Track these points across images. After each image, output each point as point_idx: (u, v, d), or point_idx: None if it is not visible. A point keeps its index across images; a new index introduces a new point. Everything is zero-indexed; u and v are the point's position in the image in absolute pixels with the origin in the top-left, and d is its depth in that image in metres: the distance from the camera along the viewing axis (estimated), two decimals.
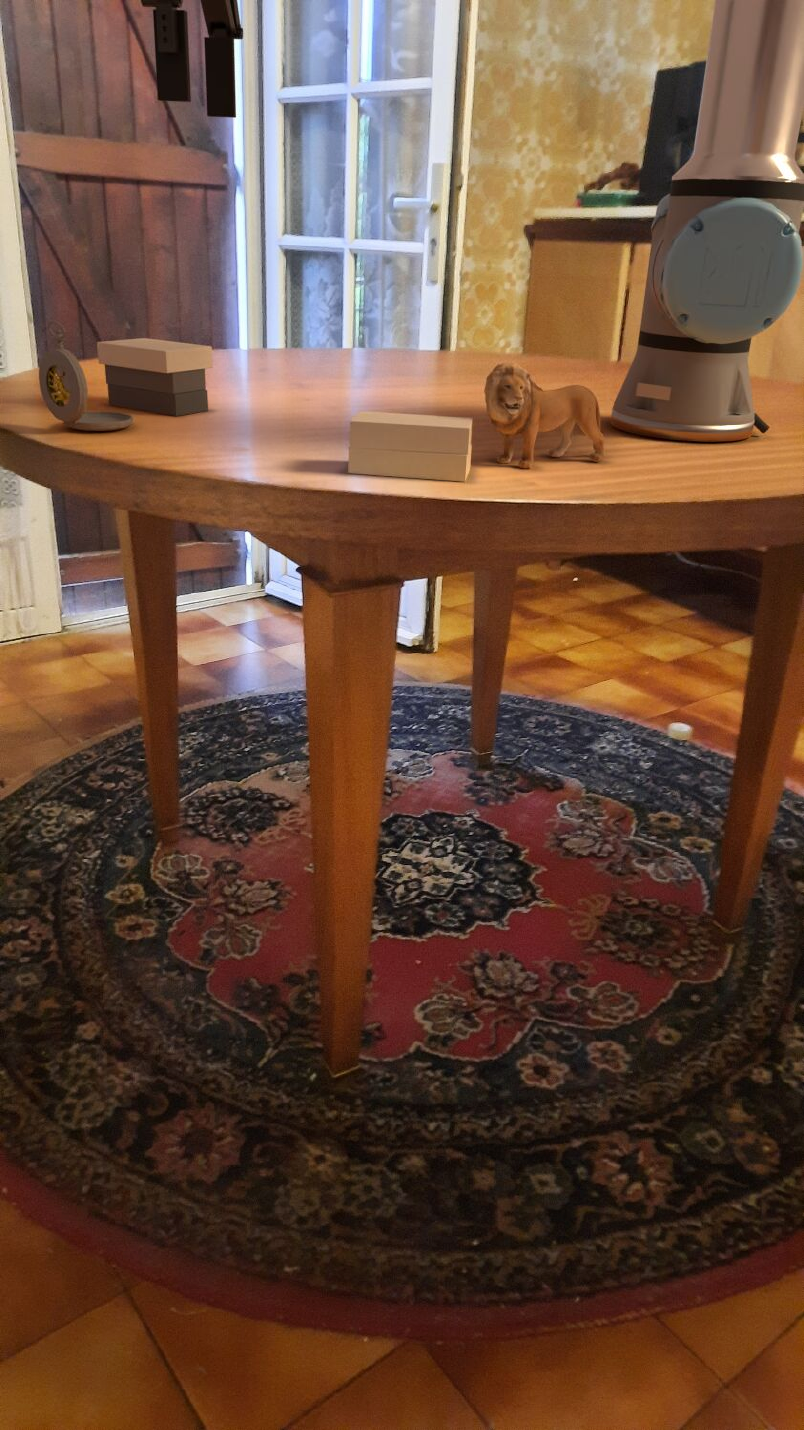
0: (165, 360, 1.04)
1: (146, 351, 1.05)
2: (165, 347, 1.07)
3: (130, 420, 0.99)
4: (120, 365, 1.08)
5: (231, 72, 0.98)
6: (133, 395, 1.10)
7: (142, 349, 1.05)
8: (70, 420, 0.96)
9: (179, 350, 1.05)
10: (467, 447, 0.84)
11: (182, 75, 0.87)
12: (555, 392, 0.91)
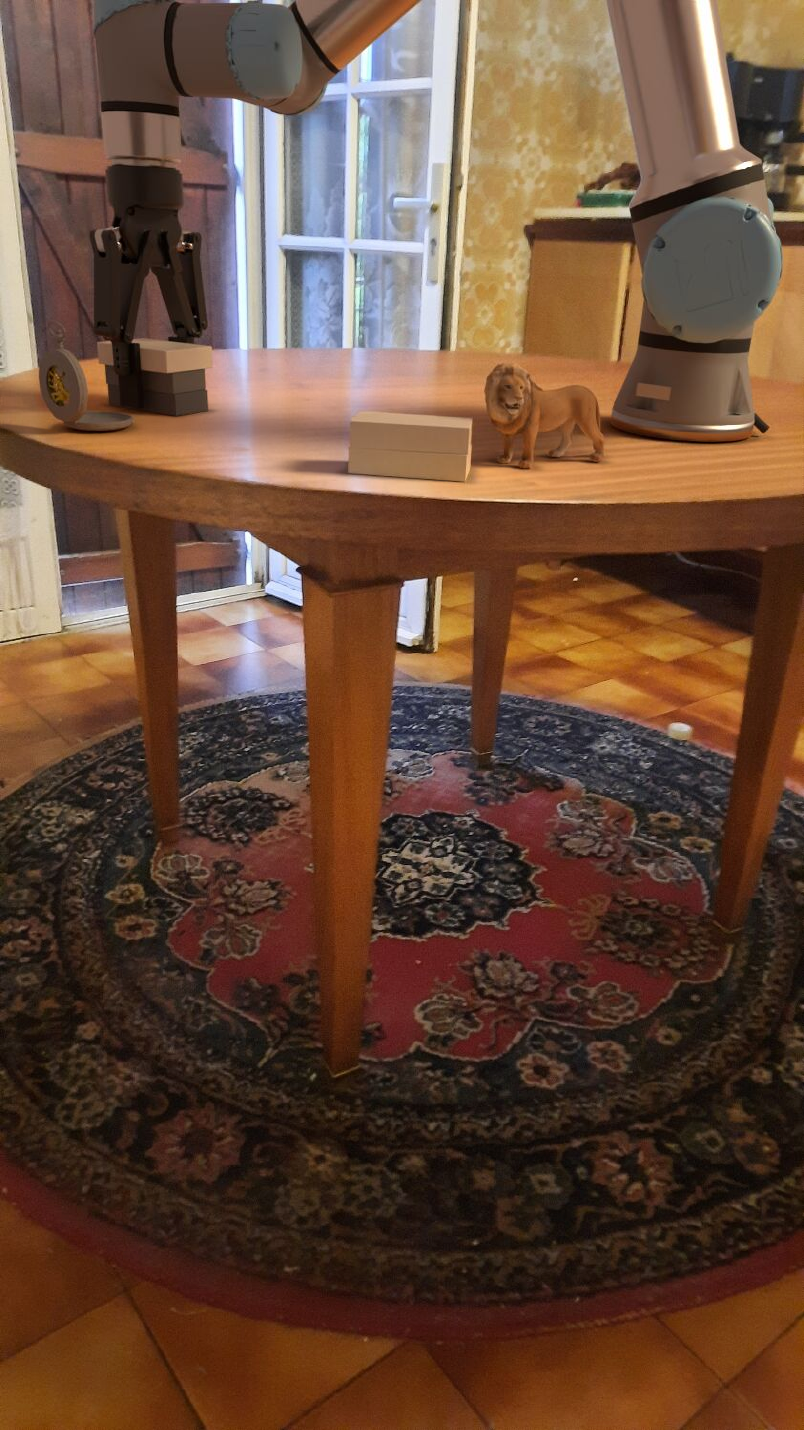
0: (165, 360, 1.04)
1: (146, 351, 1.05)
2: (165, 347, 1.07)
3: (130, 420, 0.99)
4: None
5: None
6: None
7: (142, 349, 1.05)
8: (70, 420, 0.96)
9: (179, 350, 1.05)
10: (467, 447, 0.84)
11: (134, 390, 1.07)
12: (556, 392, 0.91)
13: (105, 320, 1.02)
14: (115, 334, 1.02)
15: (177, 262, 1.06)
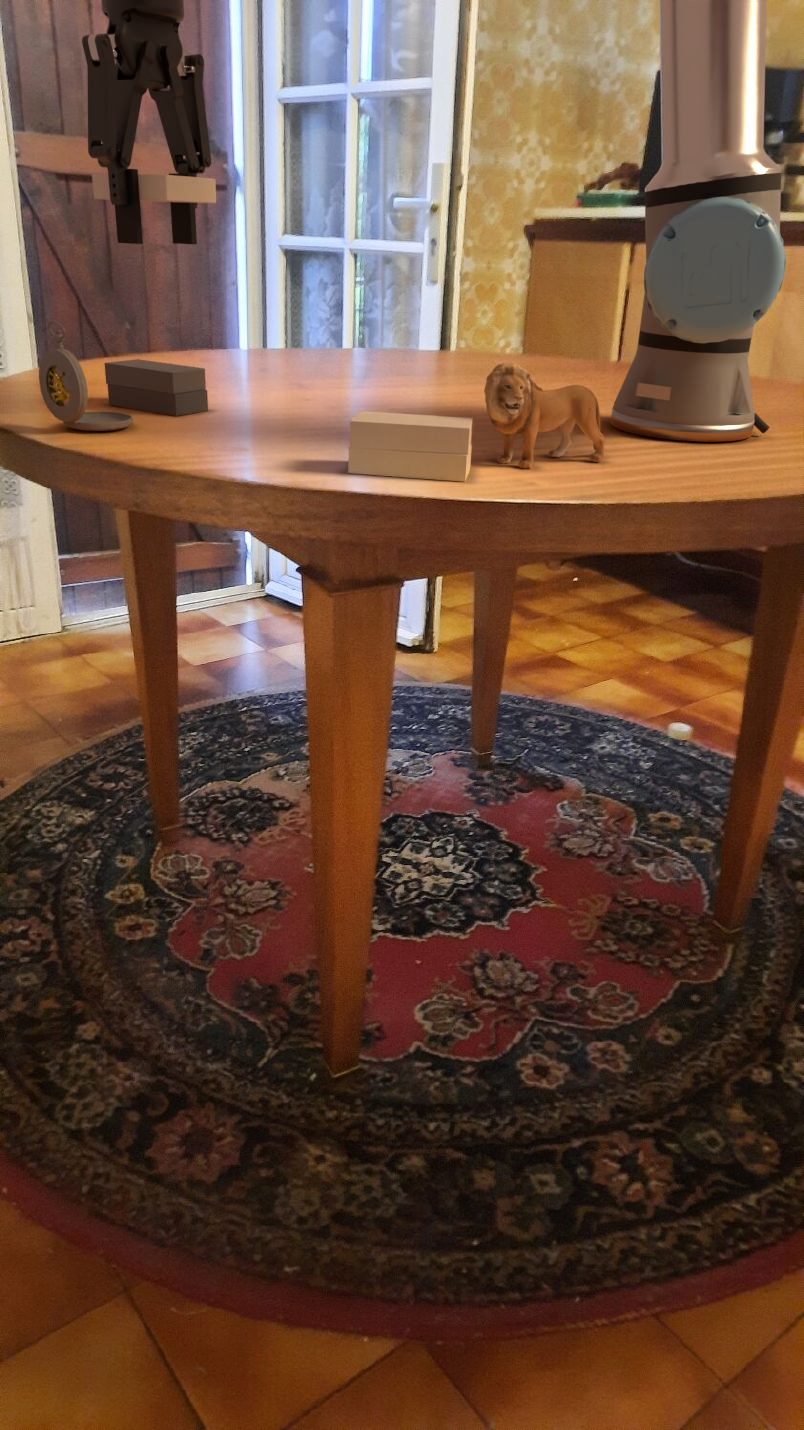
0: (165, 186, 0.96)
1: (144, 178, 0.97)
2: None
3: (130, 420, 0.99)
4: None
5: (189, 204, 1.04)
6: (133, 395, 1.10)
7: (140, 176, 0.98)
8: (70, 420, 0.96)
9: (180, 176, 0.98)
10: (467, 447, 0.84)
11: (132, 222, 0.99)
12: (556, 392, 0.91)
13: (100, 138, 0.94)
14: (111, 154, 0.95)
15: (178, 83, 0.98)
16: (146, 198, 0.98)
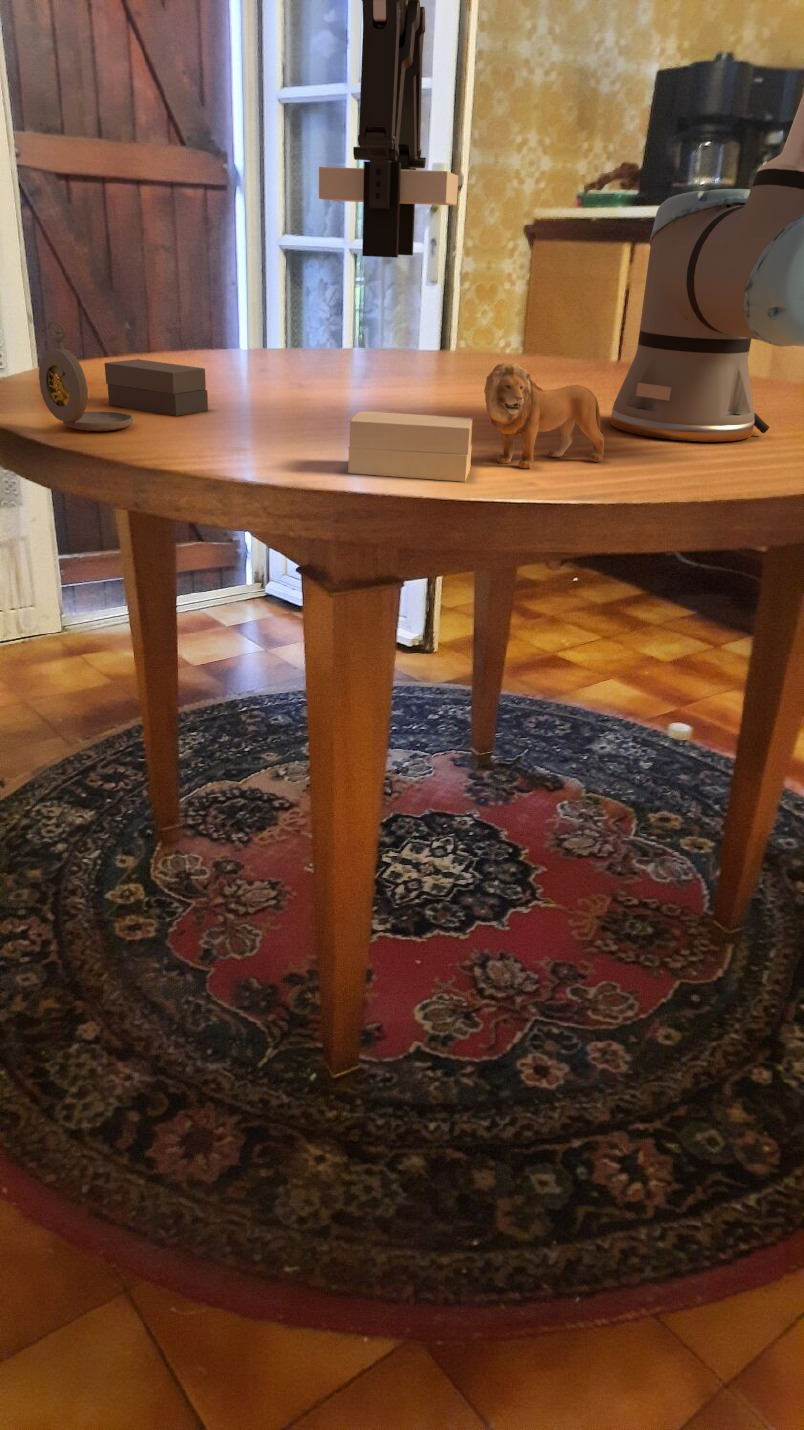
0: (445, 185, 0.77)
1: (412, 174, 0.77)
2: None
3: (130, 420, 0.99)
4: (360, 198, 0.78)
5: (411, 206, 0.84)
6: (133, 395, 1.10)
7: (404, 171, 0.77)
8: (70, 420, 0.96)
9: (450, 173, 0.79)
10: (467, 447, 0.84)
11: (392, 230, 0.78)
12: (555, 392, 0.91)
13: (381, 123, 0.73)
14: (393, 144, 0.74)
15: (421, 55, 0.79)
16: (411, 200, 0.78)
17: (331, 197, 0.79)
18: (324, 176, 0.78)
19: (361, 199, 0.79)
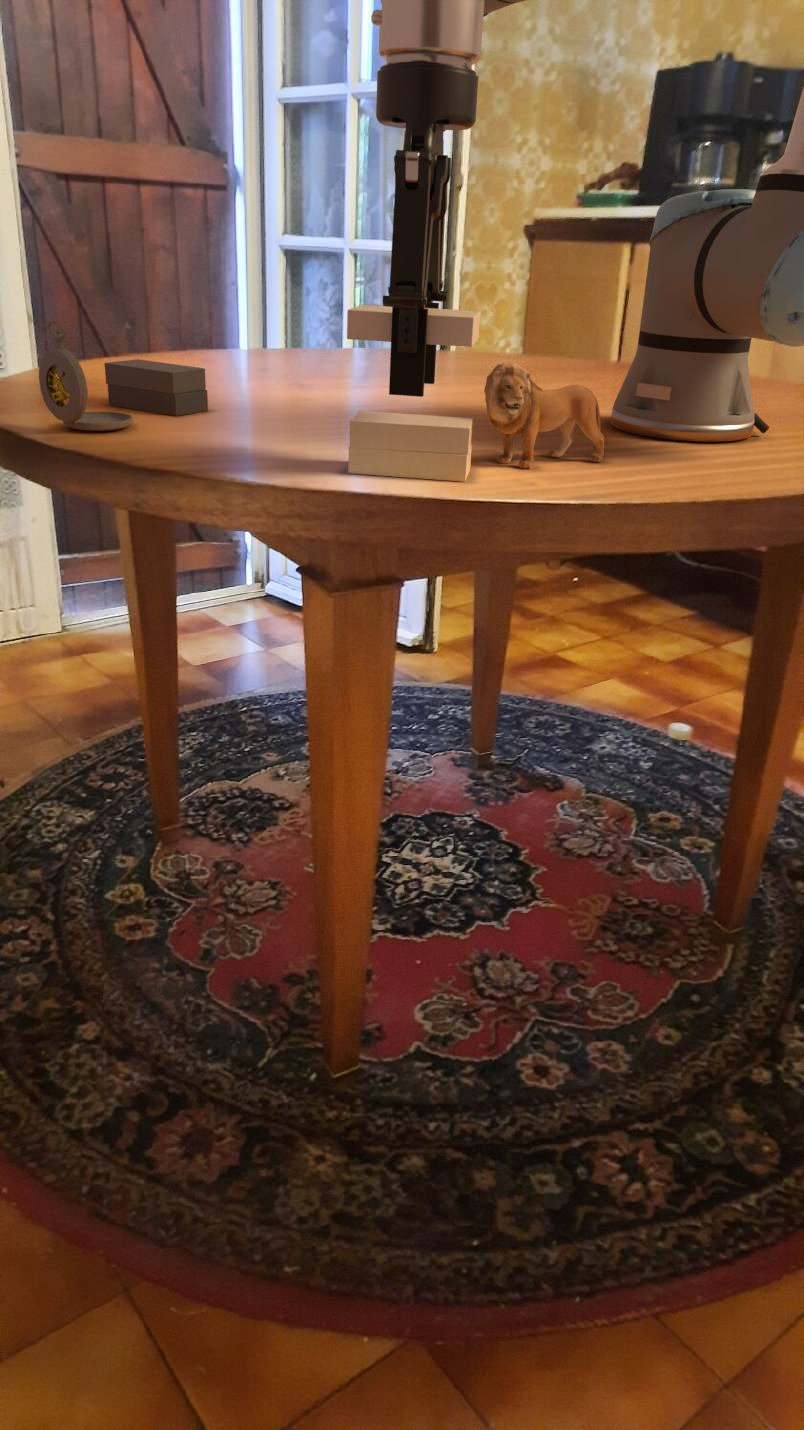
0: (471, 330, 0.79)
1: (438, 319, 0.79)
2: (448, 313, 0.81)
3: (130, 420, 0.99)
4: (387, 339, 0.80)
5: None
6: (133, 395, 1.10)
7: (431, 316, 0.79)
8: (70, 420, 0.96)
9: (475, 316, 0.81)
10: (467, 447, 0.84)
11: (418, 372, 0.80)
12: (556, 392, 0.91)
13: (412, 277, 0.75)
14: (423, 296, 0.76)
15: (446, 201, 0.81)
16: (437, 342, 0.80)
17: (359, 338, 0.81)
18: (352, 318, 0.80)
19: (388, 340, 0.81)
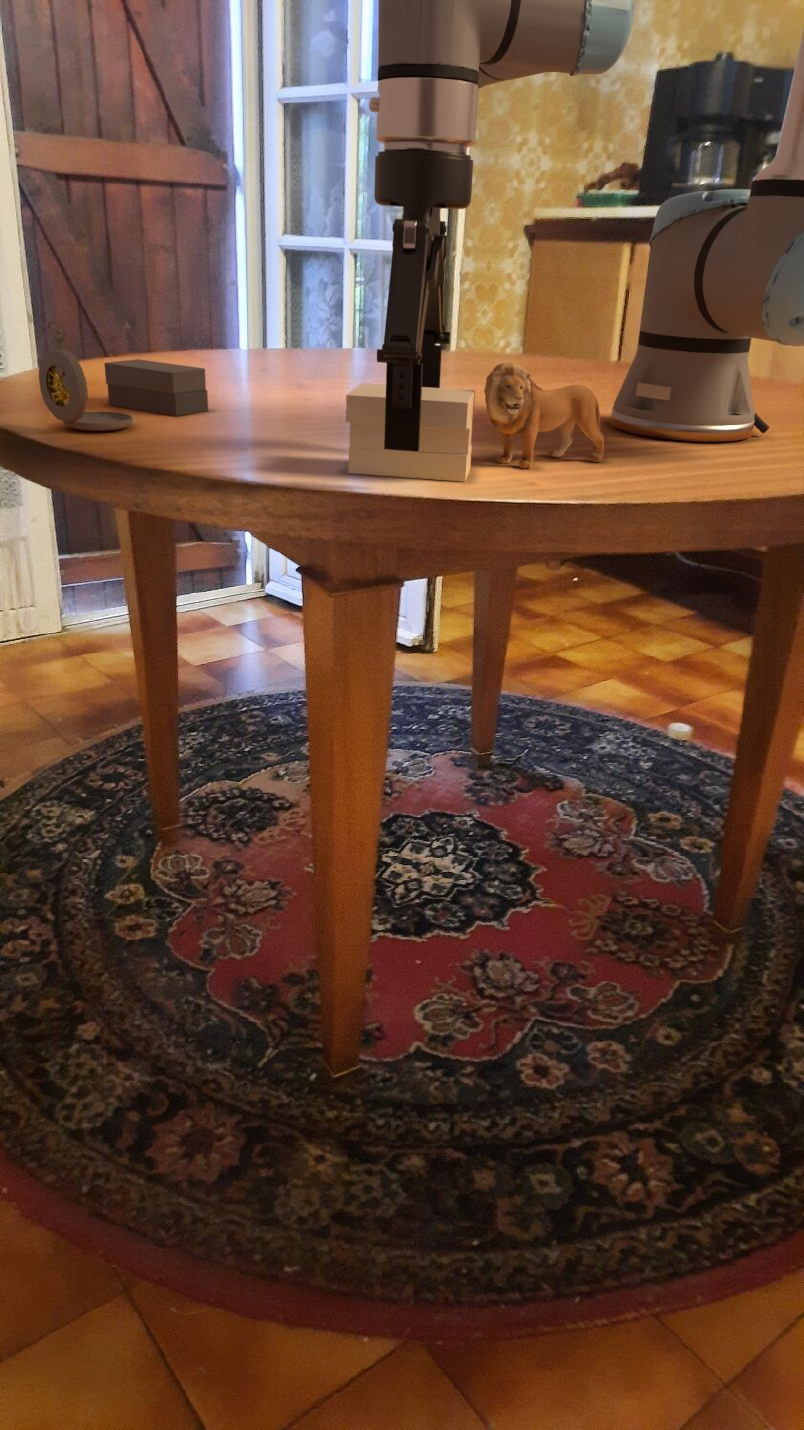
0: (465, 414, 0.82)
1: (434, 404, 0.82)
2: (443, 396, 0.84)
3: (130, 420, 0.99)
4: None
5: (437, 379, 0.91)
6: (133, 395, 1.10)
7: (427, 401, 0.82)
8: (70, 420, 0.96)
9: (470, 399, 0.83)
10: (467, 447, 0.84)
11: (414, 426, 0.79)
12: (556, 392, 0.91)
13: (406, 333, 0.74)
14: (417, 353, 0.75)
15: (444, 268, 0.84)
16: (433, 426, 0.83)
17: (357, 421, 0.83)
18: (351, 403, 0.83)
19: None
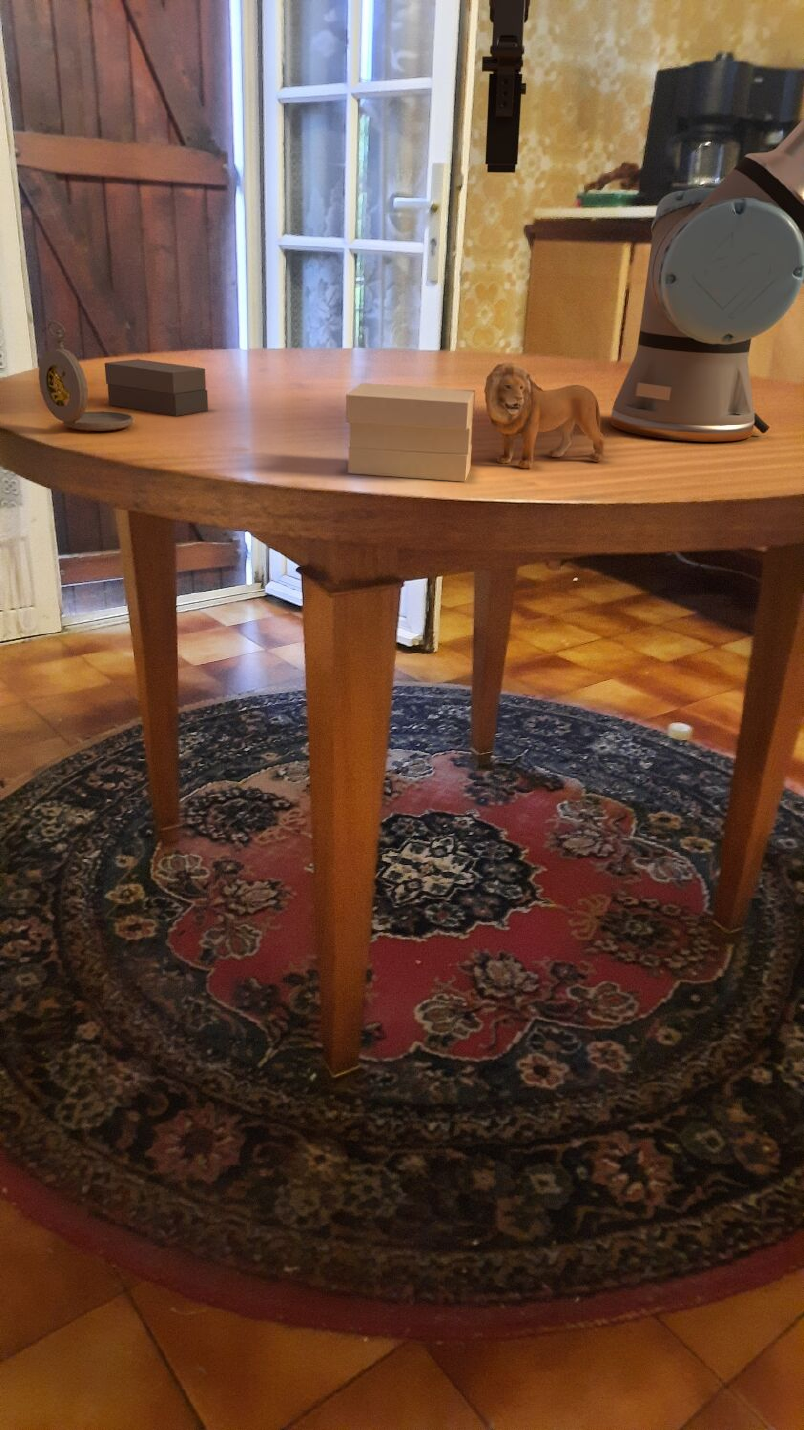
0: (465, 414, 0.82)
1: (434, 404, 0.82)
2: (443, 396, 0.84)
3: (130, 420, 0.99)
4: (385, 423, 0.83)
5: None
6: (133, 395, 1.10)
7: (427, 401, 0.82)
8: (70, 420, 0.96)
9: (470, 399, 0.83)
10: (467, 447, 0.84)
11: (514, 138, 0.85)
12: (556, 392, 0.91)
13: (513, 33, 0.80)
14: (523, 53, 0.80)
15: None
16: (433, 426, 0.83)
17: (357, 421, 0.83)
18: (351, 403, 0.83)
19: (386, 423, 0.83)
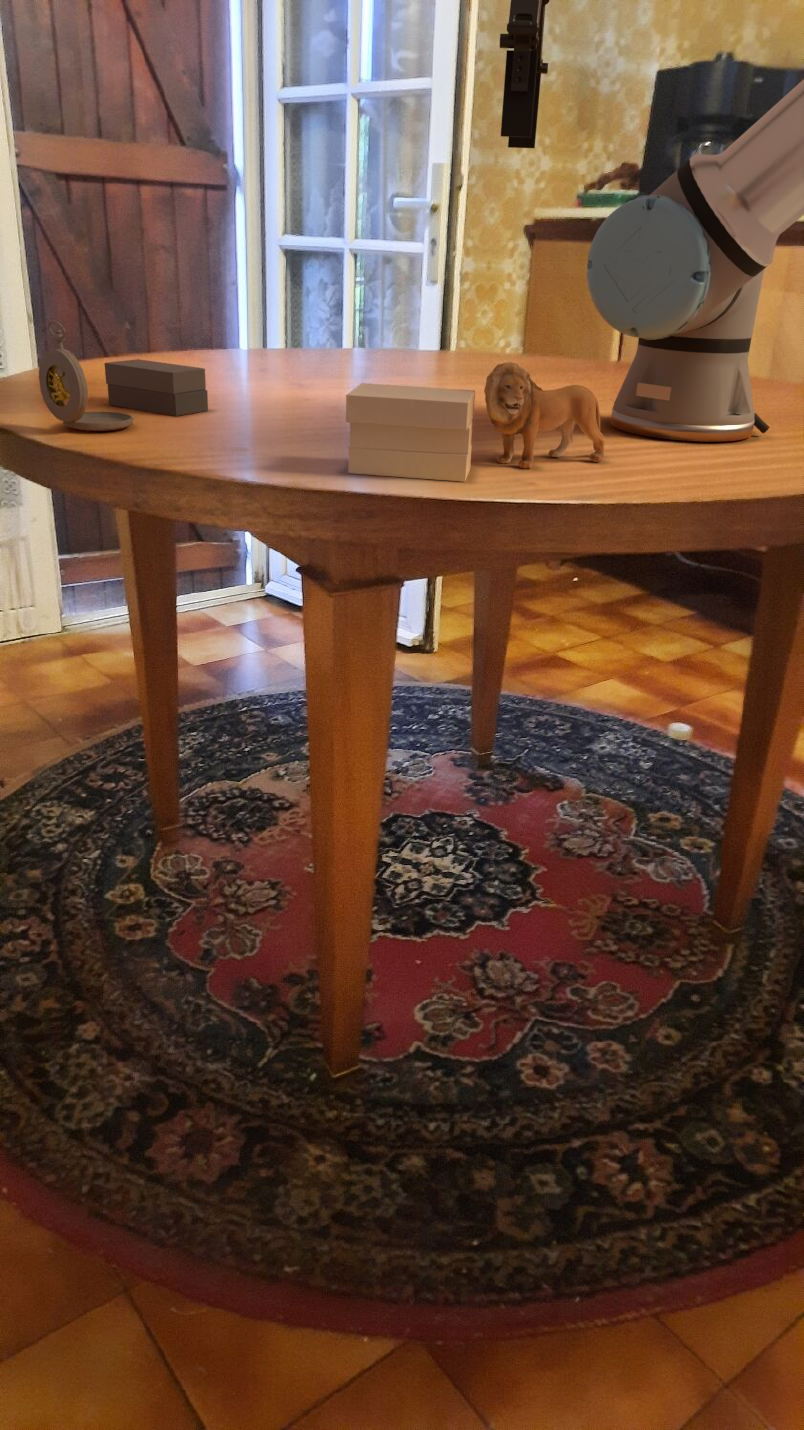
0: (465, 414, 0.82)
1: (434, 404, 0.82)
2: (443, 396, 0.84)
3: (130, 420, 0.99)
4: (385, 423, 0.83)
5: (536, 105, 1.02)
6: (133, 395, 1.10)
7: (427, 401, 0.82)
8: (70, 420, 0.96)
9: (470, 399, 0.83)
10: (467, 447, 0.84)
11: (528, 112, 0.90)
12: (556, 392, 0.91)
13: (529, 12, 0.85)
14: (537, 31, 0.86)
15: None
16: (433, 426, 0.83)
17: (357, 421, 0.83)
18: (351, 403, 0.83)
19: (386, 423, 0.83)
